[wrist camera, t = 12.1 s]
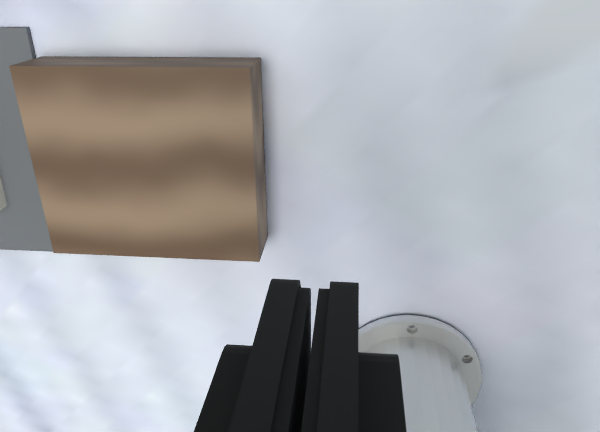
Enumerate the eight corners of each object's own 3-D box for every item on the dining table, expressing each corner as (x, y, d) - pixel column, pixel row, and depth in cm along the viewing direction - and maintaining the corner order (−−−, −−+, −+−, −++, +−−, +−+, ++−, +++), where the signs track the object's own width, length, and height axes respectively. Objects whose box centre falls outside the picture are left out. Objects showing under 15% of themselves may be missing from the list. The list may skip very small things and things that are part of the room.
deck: (267, 236, 43) (259, 261, 39) (78, 229, 44) (53, 252, 41) (260, 57, 37) (249, 67, 33) (42, 56, 38) (9, 65, 35)
